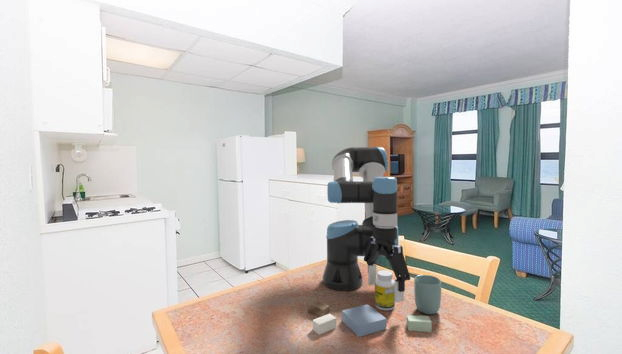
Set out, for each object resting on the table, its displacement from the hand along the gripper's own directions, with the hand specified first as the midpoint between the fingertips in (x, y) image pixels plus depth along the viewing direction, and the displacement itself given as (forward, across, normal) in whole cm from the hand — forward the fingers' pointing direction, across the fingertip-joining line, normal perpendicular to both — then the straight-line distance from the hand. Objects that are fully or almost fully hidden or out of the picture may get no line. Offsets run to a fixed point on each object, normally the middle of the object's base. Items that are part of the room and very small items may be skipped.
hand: (384, 292), depth 95 cm
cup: (+5, +8, +10) cm, 14 cm away
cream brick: (+5, +3, -23) cm, 23 cm away
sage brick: (+5, +14, +1) cm, 15 cm away
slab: (+5, +6, -12) cm, 14 cm away
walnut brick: (+5, -5, -21) cm, 22 cm away
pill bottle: (+5, 0, 0) cm, 5 cm away
